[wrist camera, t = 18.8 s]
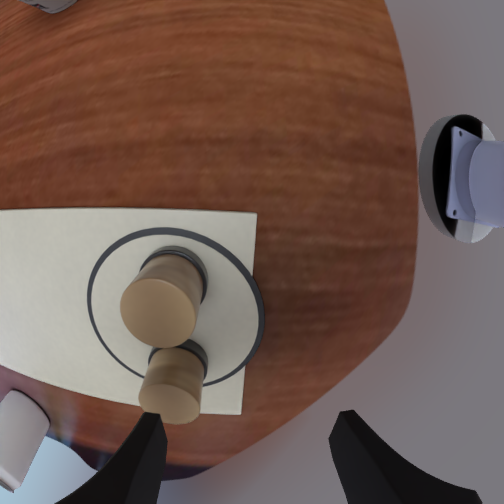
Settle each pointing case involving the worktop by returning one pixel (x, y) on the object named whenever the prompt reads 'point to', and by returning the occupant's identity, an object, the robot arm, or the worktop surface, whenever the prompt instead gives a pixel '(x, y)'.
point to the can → (19, 437)
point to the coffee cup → (50, 4)
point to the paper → (110, 292)
